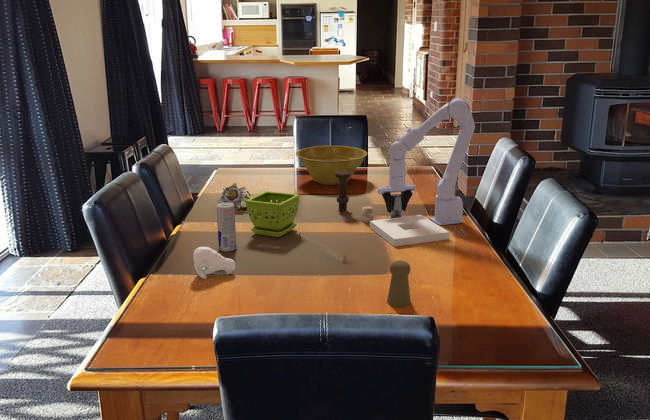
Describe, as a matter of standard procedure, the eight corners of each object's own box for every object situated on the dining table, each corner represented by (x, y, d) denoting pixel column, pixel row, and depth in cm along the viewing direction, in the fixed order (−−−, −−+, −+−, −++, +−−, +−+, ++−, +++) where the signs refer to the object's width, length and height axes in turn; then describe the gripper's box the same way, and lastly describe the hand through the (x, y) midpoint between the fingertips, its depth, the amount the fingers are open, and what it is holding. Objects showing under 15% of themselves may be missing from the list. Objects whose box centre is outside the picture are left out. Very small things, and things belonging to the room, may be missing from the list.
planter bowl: (368, 190, 258) (369, 159, 254) (294, 190, 259) (293, 160, 255) (365, 172, 289) (365, 145, 285) (298, 173, 290) (297, 145, 286)
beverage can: (239, 247, 194) (237, 202, 189) (231, 253, 189) (229, 207, 184) (224, 245, 196) (221, 201, 191) (215, 251, 191) (212, 206, 186)
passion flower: (233, 224, 233) (213, 201, 229) (236, 210, 243) (217, 189, 238) (255, 209, 230) (236, 186, 226) (258, 196, 240) (239, 174, 235)
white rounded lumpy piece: (193, 243, 172) (235, 244, 175) (193, 271, 175) (234, 271, 177) (192, 251, 166) (236, 252, 169) (192, 279, 169) (235, 280, 171)
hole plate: (420, 221, 218) (421, 214, 217) (448, 239, 200) (449, 232, 199) (369, 227, 212) (370, 220, 211) (394, 246, 193) (394, 239, 193)
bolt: (348, 213, 228) (348, 174, 223) (334, 212, 229) (334, 174, 224) (350, 208, 233) (350, 171, 229) (337, 208, 234) (337, 170, 230)
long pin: (398, 216, 223) (399, 193, 221) (403, 219, 220) (404, 196, 217) (388, 217, 222) (389, 194, 219) (393, 220, 219) (394, 197, 216)
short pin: (370, 219, 221) (370, 206, 219) (374, 222, 217) (374, 209, 216) (360, 220, 220) (360, 207, 218) (364, 223, 216) (364, 210, 215)
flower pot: (301, 228, 211) (300, 194, 207) (282, 241, 199) (280, 204, 195) (266, 223, 217) (265, 189, 213) (246, 235, 205) (244, 199, 201)
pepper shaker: (385, 297, 158) (386, 258, 154) (408, 296, 158) (409, 257, 155) (389, 307, 152) (390, 267, 149) (413, 306, 152) (414, 266, 149)
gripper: (410, 170, 222) (409, 206, 226) (374, 174, 217) (373, 210, 221) (419, 175, 215) (417, 211, 220) (382, 178, 211) (381, 215, 215)
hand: (396, 211), depth 220 cm, fingers open, 5 cm apart
